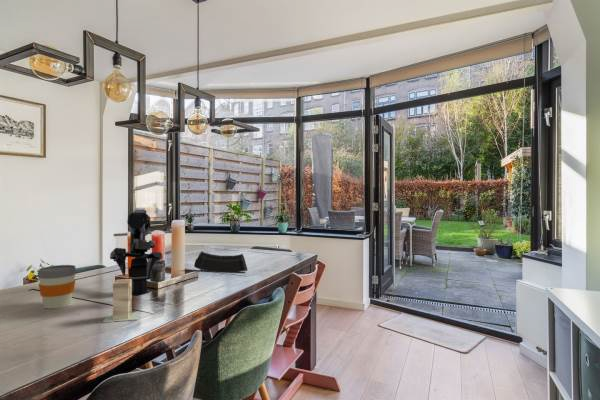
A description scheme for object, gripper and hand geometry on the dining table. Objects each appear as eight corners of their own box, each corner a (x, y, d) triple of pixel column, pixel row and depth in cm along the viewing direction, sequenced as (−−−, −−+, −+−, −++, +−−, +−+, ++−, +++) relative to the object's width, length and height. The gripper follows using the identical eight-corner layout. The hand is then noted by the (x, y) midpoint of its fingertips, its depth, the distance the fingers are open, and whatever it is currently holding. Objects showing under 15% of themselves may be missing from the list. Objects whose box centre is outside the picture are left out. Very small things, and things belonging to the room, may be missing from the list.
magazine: (251, 256, 202) (203, 239, 206) (250, 257, 199) (201, 240, 202) (243, 284, 203) (195, 267, 207) (241, 286, 200) (192, 268, 203)
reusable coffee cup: (33, 312, 132) (33, 272, 131) (43, 302, 143) (42, 266, 143) (73, 308, 137) (72, 269, 136) (78, 299, 148) (78, 263, 148)
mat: (108, 315, 129) (108, 314, 129) (141, 312, 132) (141, 311, 132) (102, 322, 121) (102, 321, 121) (136, 320, 124) (136, 319, 124)
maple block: (116, 314, 129) (116, 279, 128) (131, 313, 130) (131, 279, 130) (113, 319, 124) (112, 283, 123) (128, 318, 125) (128, 282, 125)
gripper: (120, 228, 134) (118, 267, 127) (168, 234, 147) (168, 270, 140) (110, 239, 141) (108, 277, 134) (156, 244, 153) (156, 279, 146)
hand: (136, 275), depth 138 cm, fingers open, 9 cm apart
